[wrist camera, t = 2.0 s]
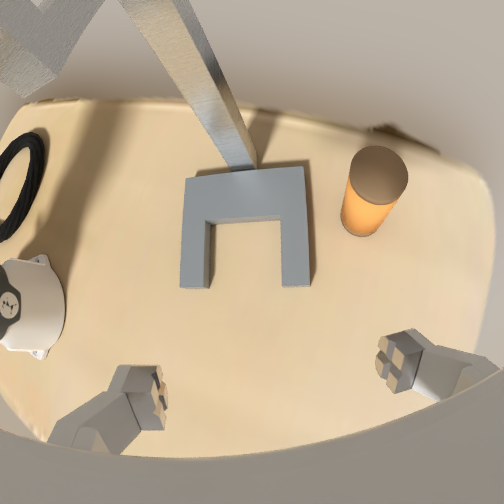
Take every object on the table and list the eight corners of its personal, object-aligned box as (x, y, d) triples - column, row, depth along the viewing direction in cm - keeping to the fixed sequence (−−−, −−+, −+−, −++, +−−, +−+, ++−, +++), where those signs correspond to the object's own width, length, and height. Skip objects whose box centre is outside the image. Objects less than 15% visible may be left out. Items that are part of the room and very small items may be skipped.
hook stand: (233, 255, 36) (-76, 34, 2) (234, 156, 38) (83, -89, 4) (257, 254, 35) (-36, -27, 1) (256, 153, 38) (126, -112, 4)
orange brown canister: (342, 237, 33) (354, 201, 22) (338, 197, 34) (346, 146, 23) (383, 236, 32) (413, 199, 21) (378, 196, 33) (401, 146, 22)
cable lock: (-5, 264, 43) (-30, 209, 51) (8, 267, 47) (-20, 213, 55) (52, 143, 44) (15, 120, 53) (64, 151, 48) (23, 125, 56)
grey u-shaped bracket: (186, 288, 36) (179, 287, 34) (191, 184, 39) (185, 178, 37) (310, 286, 33) (309, 285, 31) (304, 173, 36) (303, 166, 34)
